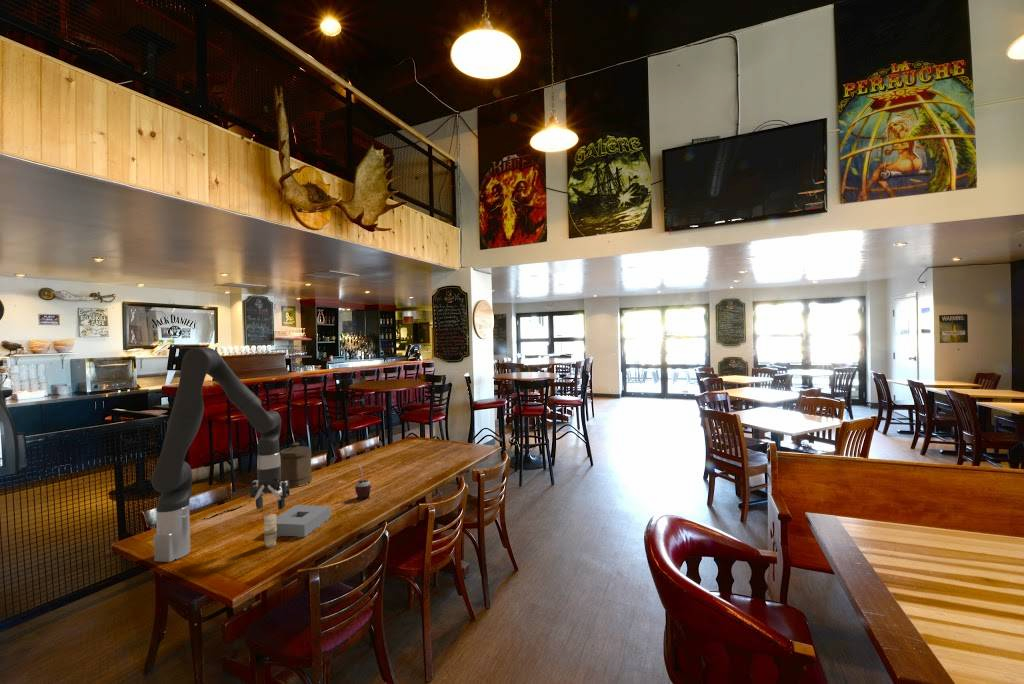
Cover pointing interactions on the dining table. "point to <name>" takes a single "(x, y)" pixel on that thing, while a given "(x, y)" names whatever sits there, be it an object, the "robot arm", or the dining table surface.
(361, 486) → the mate gourd
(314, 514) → the socket block
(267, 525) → the peg
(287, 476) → the wooden container
